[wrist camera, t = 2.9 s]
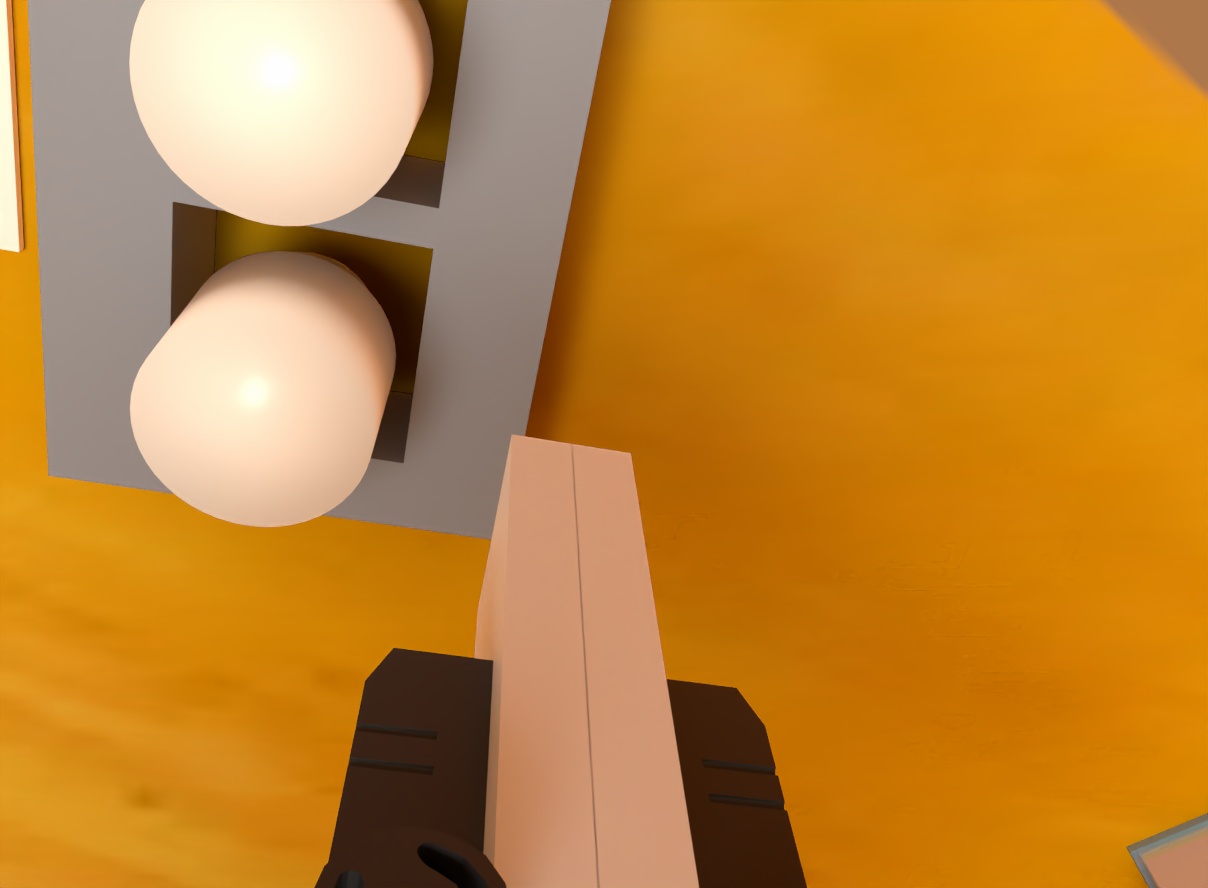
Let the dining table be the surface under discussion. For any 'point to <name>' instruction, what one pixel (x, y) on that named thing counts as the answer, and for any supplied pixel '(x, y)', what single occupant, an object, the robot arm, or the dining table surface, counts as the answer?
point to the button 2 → (267, 390)
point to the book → (1175, 856)
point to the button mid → (281, 99)
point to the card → (9, 139)
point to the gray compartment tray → (395, 213)
